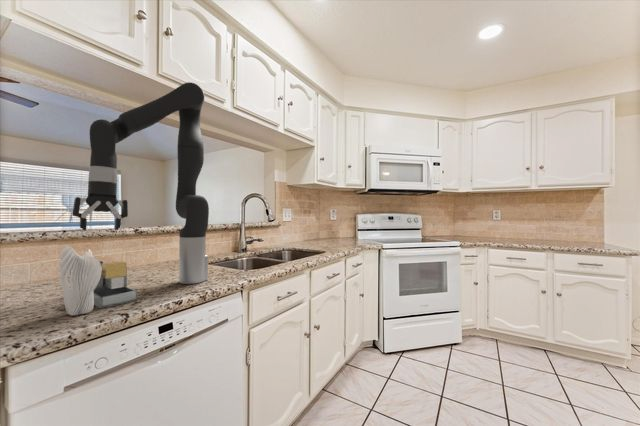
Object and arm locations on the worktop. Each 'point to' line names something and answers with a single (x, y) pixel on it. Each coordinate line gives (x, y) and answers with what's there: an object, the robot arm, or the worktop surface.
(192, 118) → the robot arm
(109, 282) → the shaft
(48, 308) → the worktop surface
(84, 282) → the shell sculpture
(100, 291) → the grey tray with arch
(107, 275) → the yellow block
